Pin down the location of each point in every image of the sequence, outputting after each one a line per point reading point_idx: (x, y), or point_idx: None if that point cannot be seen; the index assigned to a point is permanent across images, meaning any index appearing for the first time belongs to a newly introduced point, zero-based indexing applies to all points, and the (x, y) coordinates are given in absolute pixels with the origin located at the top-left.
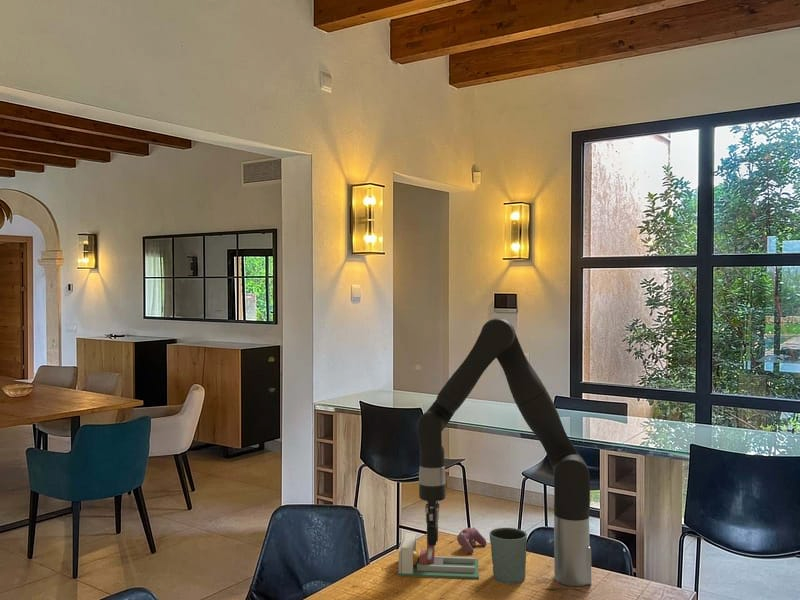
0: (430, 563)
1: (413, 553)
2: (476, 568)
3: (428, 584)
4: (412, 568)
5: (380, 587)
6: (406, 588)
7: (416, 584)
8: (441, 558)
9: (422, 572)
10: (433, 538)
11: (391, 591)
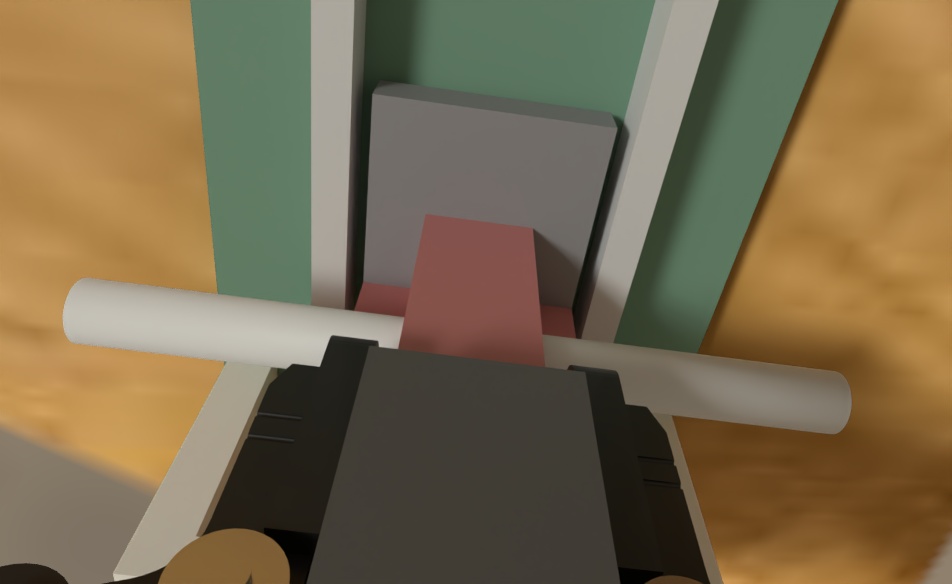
0: (544, 268)
1: None
2: None
3: (901, 276)
4: (676, 439)
5: (823, 574)
6: (912, 440)
7: (860, 370)
8: (376, 123)
9: (649, 323)
10: (675, 507)
11: (923, 525)
